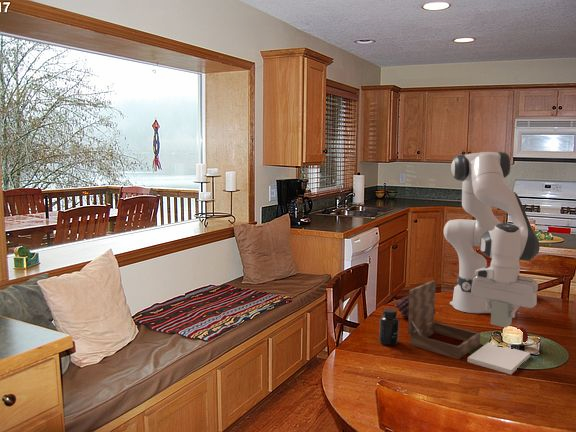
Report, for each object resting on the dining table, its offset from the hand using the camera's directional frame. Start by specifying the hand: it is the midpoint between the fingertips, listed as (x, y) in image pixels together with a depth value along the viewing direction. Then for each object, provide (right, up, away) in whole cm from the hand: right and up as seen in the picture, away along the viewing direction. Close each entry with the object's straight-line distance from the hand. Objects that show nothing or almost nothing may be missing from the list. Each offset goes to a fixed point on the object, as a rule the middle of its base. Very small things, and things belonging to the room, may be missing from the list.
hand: (501, 314), depth 170 cm
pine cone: (-19, -10, +42) cm, 47 cm away
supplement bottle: (-34, -13, +17) cm, 40 cm away
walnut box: (-14, -14, +15) cm, 25 cm away
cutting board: (0, -15, +2) cm, 16 cm away
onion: (+11, -14, +13) cm, 23 cm away
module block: (0, -3, 0) cm, 3 cm away
